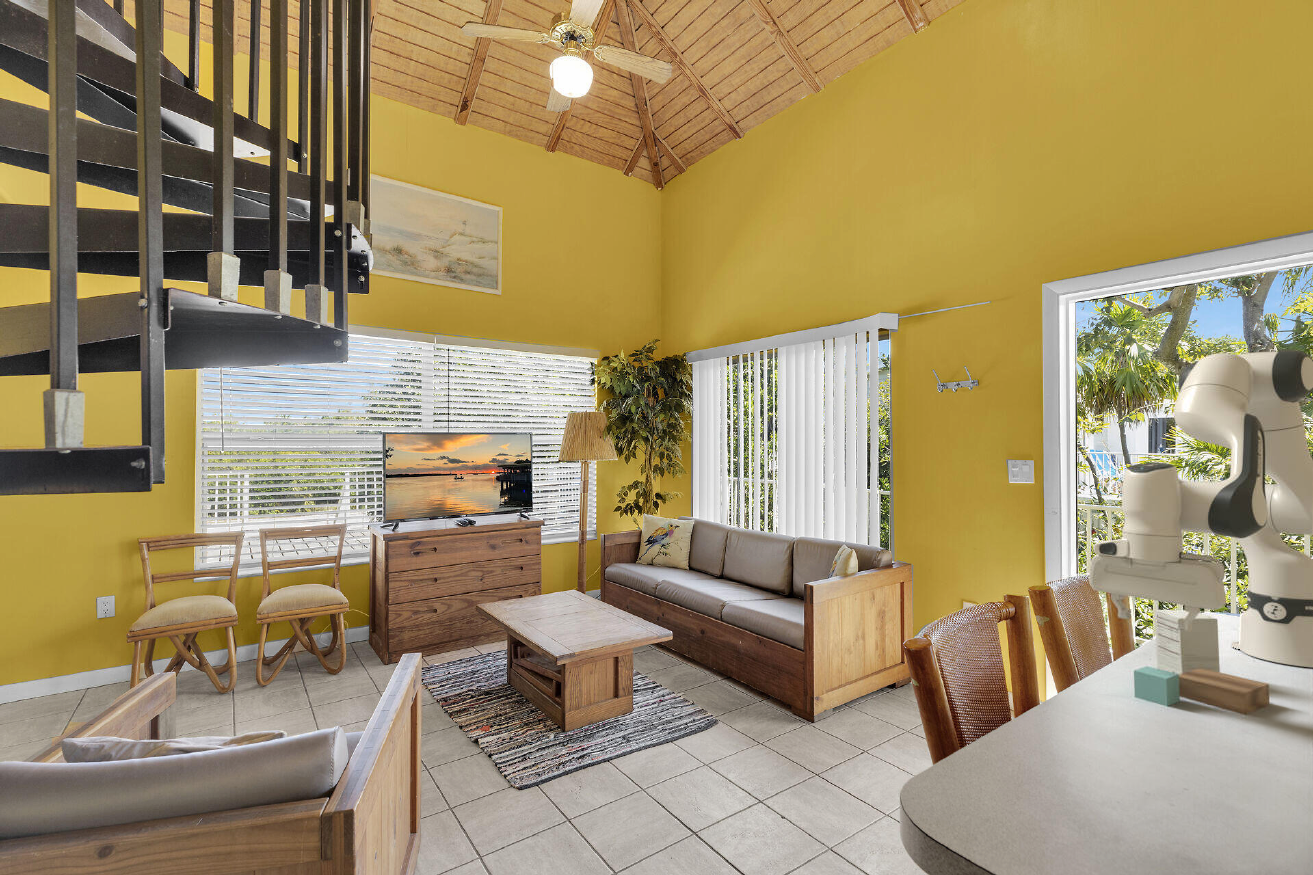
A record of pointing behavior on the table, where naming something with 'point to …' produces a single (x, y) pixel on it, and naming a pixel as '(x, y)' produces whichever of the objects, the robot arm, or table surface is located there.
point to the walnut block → (1224, 690)
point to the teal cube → (1156, 686)
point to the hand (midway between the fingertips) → (1153, 623)
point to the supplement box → (1186, 642)
